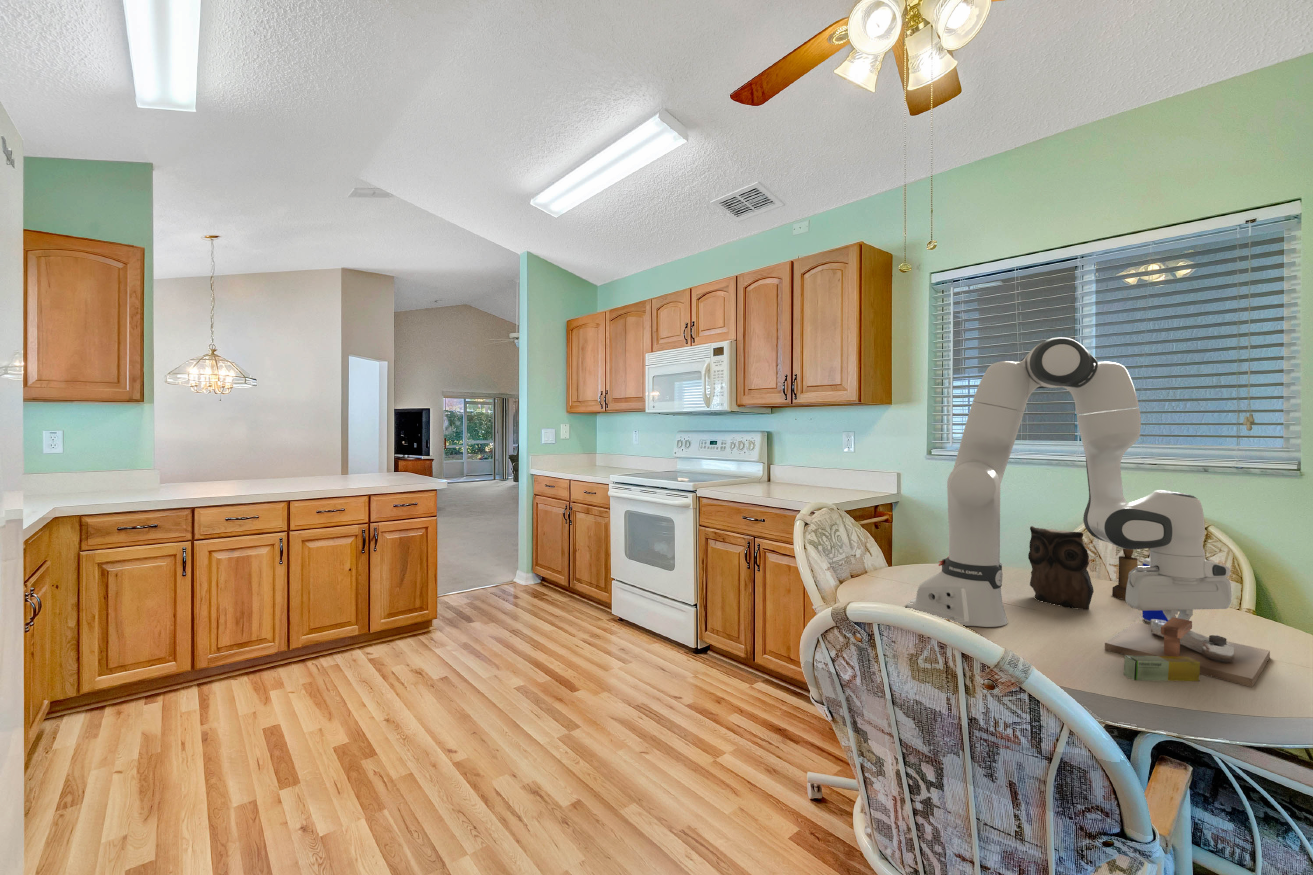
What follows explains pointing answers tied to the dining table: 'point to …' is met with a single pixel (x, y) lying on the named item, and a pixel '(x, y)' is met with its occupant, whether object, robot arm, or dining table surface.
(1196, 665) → the medication box
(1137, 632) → the walnut base plate
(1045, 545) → the owl
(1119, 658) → the dining table surface
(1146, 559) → the beverage can
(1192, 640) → the steel link
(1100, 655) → the dining table surface
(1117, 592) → the brown wooden upright piece
